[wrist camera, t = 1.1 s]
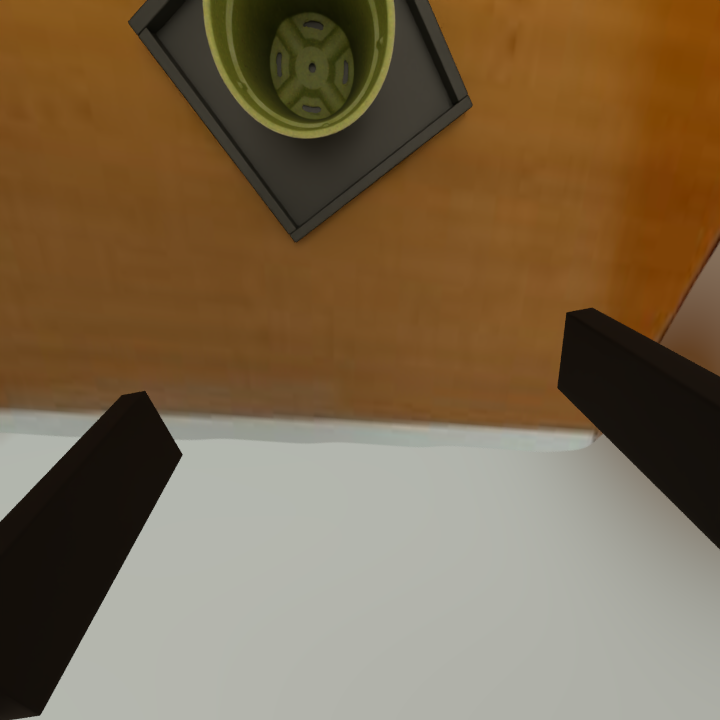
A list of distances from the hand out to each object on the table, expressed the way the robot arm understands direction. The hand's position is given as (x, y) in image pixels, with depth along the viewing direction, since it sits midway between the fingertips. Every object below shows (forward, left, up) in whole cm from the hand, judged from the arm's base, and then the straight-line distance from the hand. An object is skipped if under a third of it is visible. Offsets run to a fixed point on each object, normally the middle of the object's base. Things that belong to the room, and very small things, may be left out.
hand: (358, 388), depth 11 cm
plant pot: (-11, +5, -23) cm, 26 cm away
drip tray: (-11, +5, -23) cm, 26 cm away
